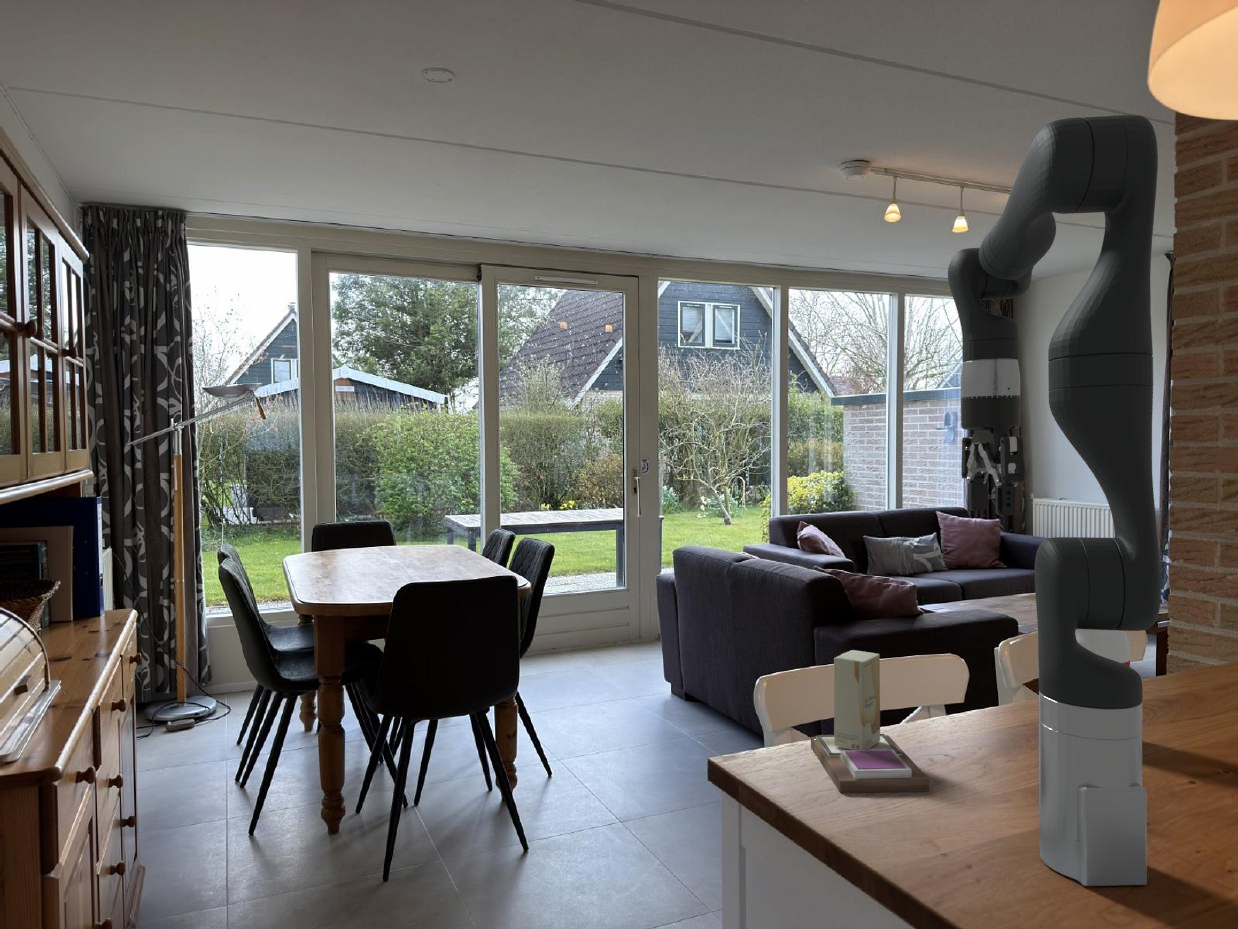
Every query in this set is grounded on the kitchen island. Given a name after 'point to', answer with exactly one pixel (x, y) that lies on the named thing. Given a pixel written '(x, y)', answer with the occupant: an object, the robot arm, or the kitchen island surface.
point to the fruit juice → (1106, 643)
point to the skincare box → (856, 700)
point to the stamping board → (869, 767)
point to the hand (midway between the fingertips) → (991, 512)
